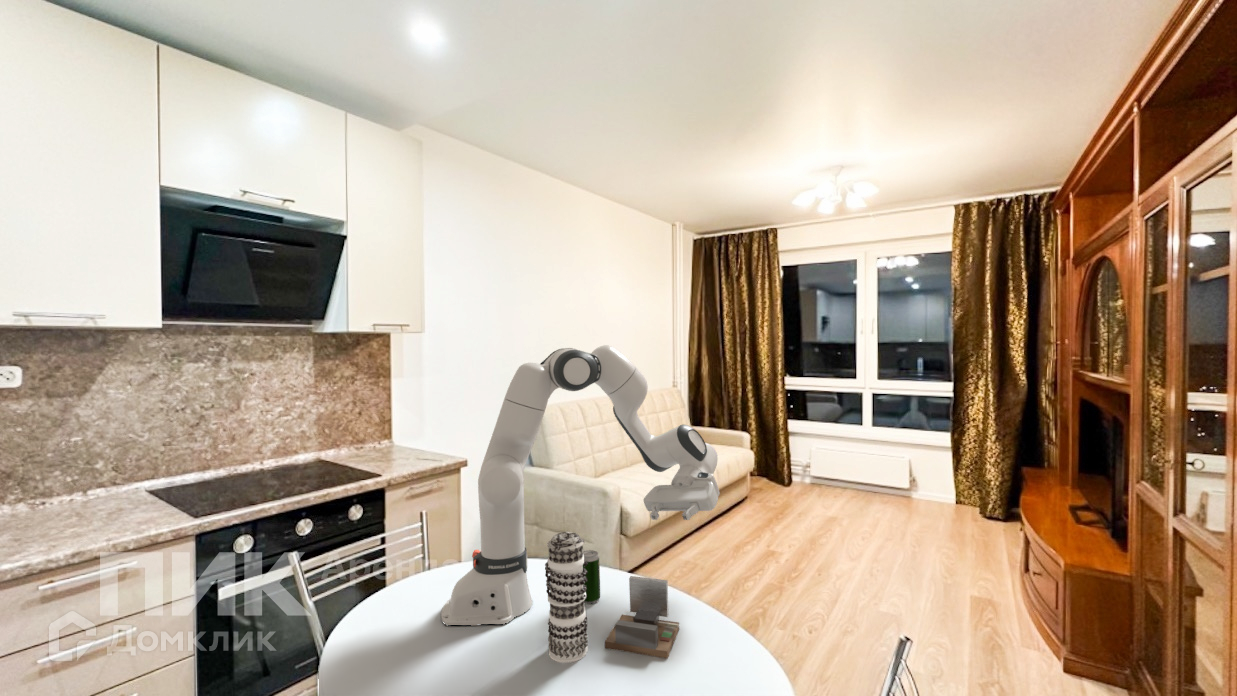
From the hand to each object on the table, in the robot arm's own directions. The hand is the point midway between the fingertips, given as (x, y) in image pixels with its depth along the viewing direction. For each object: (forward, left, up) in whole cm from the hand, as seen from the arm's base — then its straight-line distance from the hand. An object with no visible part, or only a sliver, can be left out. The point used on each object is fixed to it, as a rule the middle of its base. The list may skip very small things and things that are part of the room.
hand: (668, 517), depth 130 cm
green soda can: (-20, +9, -23) cm, 31 cm away
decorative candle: (-28, -13, -23) cm, 38 cm away
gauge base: (-11, -12, -22) cm, 28 cm away
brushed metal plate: (-8, -10, -21) cm, 24 cm away
